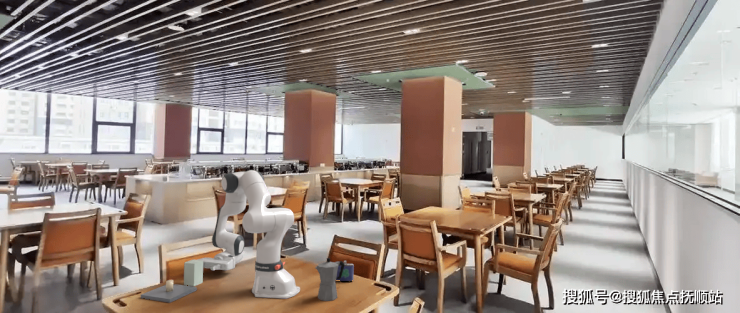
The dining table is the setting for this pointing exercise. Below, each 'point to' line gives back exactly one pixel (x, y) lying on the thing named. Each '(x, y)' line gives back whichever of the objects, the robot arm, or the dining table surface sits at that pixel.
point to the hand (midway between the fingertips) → (204, 267)
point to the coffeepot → (328, 279)
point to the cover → (193, 272)
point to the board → (168, 292)
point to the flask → (346, 272)
